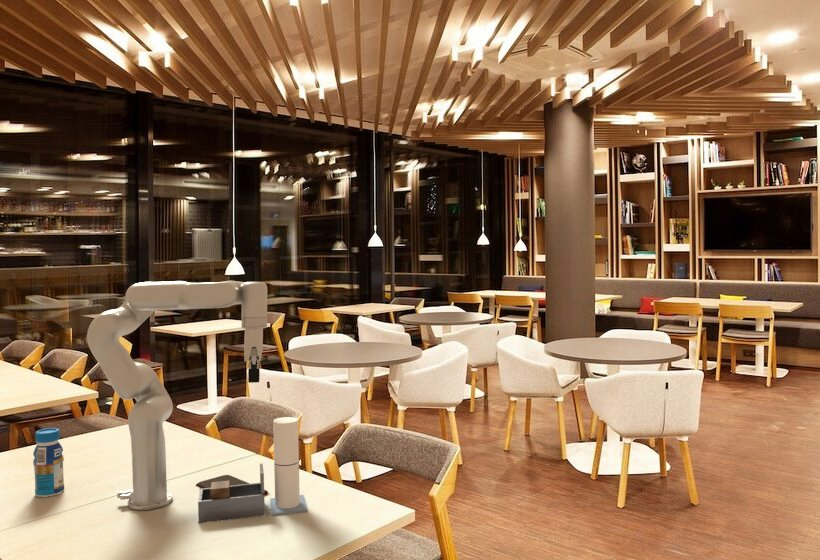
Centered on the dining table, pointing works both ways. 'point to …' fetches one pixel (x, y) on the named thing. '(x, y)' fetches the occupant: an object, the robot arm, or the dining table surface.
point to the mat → (280, 511)
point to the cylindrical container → (286, 462)
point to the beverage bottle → (48, 463)
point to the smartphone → (229, 478)
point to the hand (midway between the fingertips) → (253, 379)
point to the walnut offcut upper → (220, 490)
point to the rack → (233, 502)
